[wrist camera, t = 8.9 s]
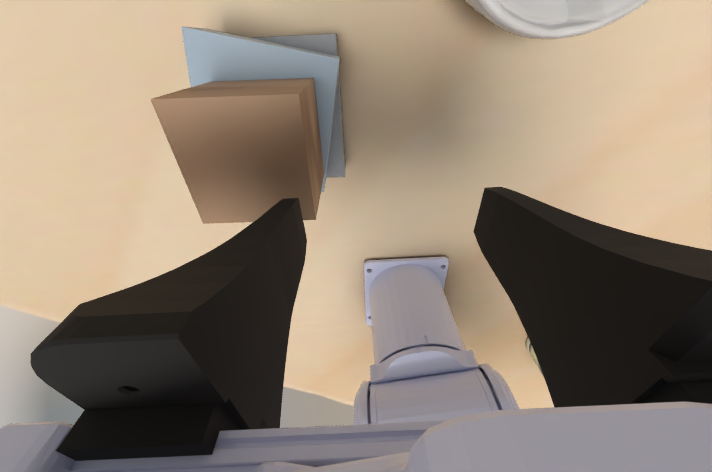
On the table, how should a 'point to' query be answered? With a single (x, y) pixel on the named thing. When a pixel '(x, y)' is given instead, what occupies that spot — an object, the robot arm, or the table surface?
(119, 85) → the table surface
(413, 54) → the table surface
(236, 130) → the walnut cube
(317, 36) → the tower base
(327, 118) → the tower top
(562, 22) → the ramekin
